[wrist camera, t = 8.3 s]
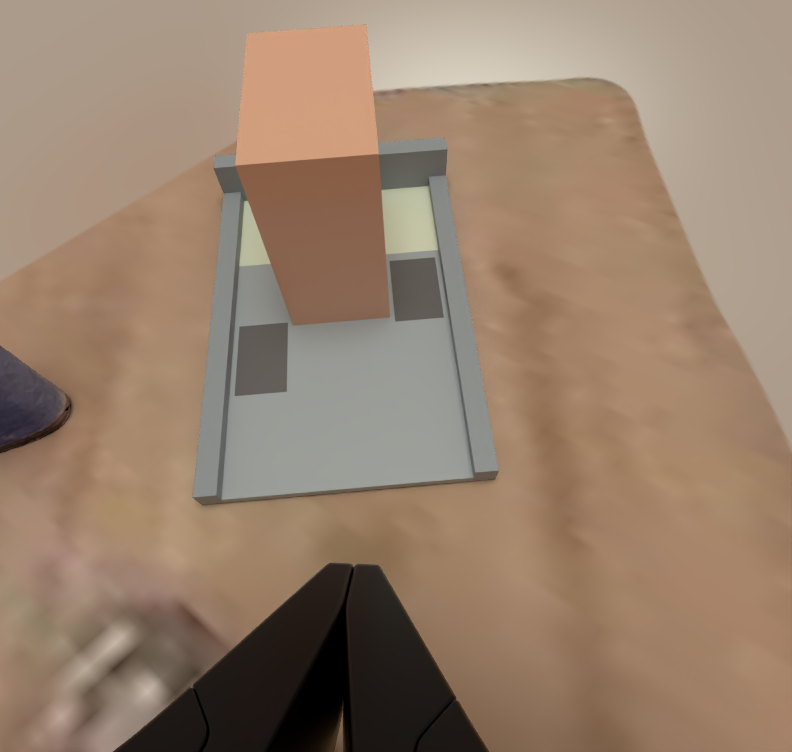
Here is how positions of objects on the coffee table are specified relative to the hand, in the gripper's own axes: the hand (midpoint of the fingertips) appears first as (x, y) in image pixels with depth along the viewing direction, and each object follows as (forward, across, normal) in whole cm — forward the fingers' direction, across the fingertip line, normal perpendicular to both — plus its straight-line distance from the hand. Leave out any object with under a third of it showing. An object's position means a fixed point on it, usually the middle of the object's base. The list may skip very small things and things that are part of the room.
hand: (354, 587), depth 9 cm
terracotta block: (+22, +3, -5) cm, 23 cm away
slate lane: (+20, +3, -2) cm, 20 cm away
